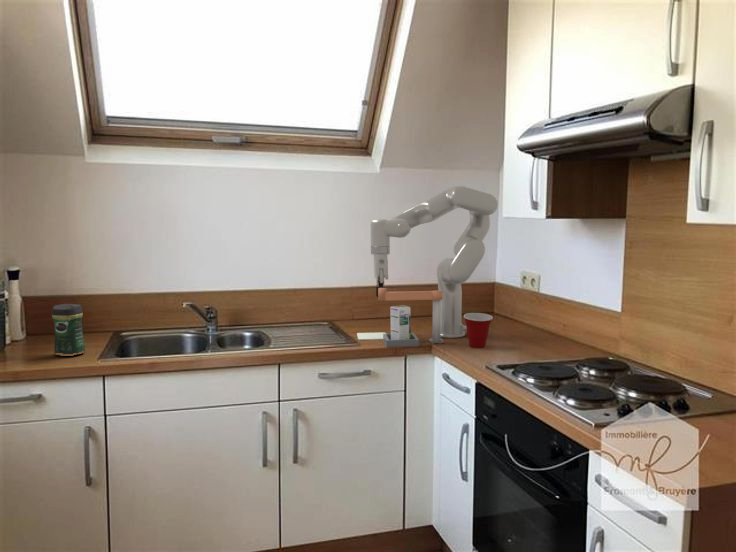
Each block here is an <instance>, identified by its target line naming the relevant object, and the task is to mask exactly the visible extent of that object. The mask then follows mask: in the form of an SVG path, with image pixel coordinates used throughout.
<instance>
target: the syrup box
mask: <svg viewBox="0 0 736 552" xmlns="http://www.w3.org/2000/svg"><path fill="white" fill-rule="evenodd" d="M389 309H390V310H389V311H390V312H389V313H390V315H389V316H390V334H391V340H404V339H411V333H412V331H411V330H412V328H411V327H412V323H411V321H412V317H411V314H412V313H411V310H412V309H411V306H409V305H404V304H403V305H395V306H390V307H389Z"/></svg>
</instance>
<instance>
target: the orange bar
mask: <svg viewBox="0 0 736 552" xmlns="http://www.w3.org/2000/svg"><path fill="white" fill-rule="evenodd" d="M387 289H388V288H387V287H385V288H378V297H377V300H378V301H382V302H383V301H426V300H428V301H433V300H442V291H439V290H438V289H436V290H433V289H432V290H422V291H421V290H420V291H418V290H415V291H413V290H411V291H403V290H402V291H387Z"/></svg>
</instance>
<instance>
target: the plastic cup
mask: <svg viewBox="0 0 736 552" xmlns="http://www.w3.org/2000/svg"><path fill="white" fill-rule="evenodd" d="M463 318H464V321H465V322H464V323H465V326H466V327H467V330H466V333H467V339H468V344H469V347H470V348H473V349H484V348H485V347H486V345H487V340H488V337H489V330H490V327H491V326H490V325H491V322H492V320H493V319H494V317H493V316H492V315H490V314H488V313H484V312H482V313H481V312H469V313H468V312H467V313H465V314H464V315H463Z"/></svg>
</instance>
